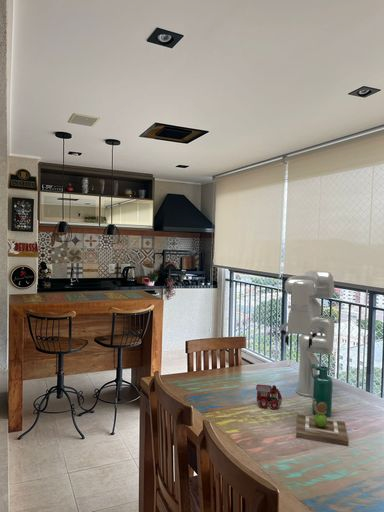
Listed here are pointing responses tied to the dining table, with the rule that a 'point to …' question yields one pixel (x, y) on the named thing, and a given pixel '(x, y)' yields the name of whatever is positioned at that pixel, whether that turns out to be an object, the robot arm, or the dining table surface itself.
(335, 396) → the dining table surface
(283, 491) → the dining table surface
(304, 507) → the dining table surface
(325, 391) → the teal bottle
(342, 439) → the board
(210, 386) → the dining table surface
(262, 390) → the toy fire truck
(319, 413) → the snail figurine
